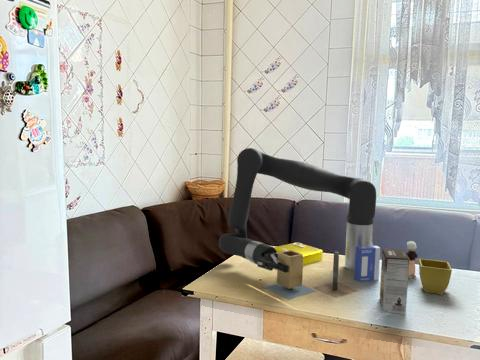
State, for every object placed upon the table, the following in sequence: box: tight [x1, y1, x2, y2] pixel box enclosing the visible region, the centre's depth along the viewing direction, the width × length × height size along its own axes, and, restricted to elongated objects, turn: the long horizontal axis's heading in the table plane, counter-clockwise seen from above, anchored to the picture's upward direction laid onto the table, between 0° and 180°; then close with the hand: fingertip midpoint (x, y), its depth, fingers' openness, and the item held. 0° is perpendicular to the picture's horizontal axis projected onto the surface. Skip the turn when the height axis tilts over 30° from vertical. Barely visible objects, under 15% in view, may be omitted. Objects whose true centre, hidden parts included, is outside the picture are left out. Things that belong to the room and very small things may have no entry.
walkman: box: [354, 245, 381, 282], centre depth 141 cm, size 8×3×12 cm, turn 102°
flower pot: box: [418, 258, 453, 295], centre depth 133 cm, size 9×9×9 cm
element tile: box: [273, 242, 324, 266], centre depth 166 cm, size 15×15×5 cm
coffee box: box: [379, 248, 410, 315], centre depth 120 cm, size 9×6×16 cm
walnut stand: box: [311, 251, 358, 298], centre depth 132 cm, size 10×10×12 cm
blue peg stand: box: [263, 283, 317, 300], centre depth 131 cm, size 12×12×7 cm
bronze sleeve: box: [276, 250, 304, 289], centre depth 131 cm, size 6×6×10 cm
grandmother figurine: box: [406, 240, 419, 279], centre depth 146 cm, size 8×4×13 cm, turn 135°
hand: (294, 267), depth 129 cm, fingers closed on bronze sleeve, 5 cm apart
